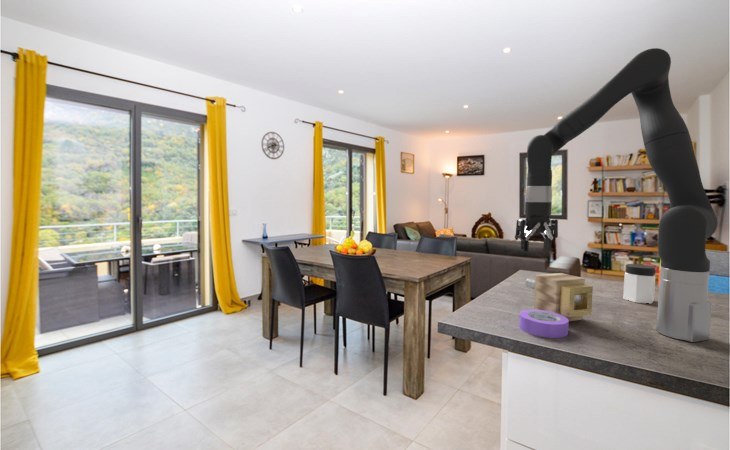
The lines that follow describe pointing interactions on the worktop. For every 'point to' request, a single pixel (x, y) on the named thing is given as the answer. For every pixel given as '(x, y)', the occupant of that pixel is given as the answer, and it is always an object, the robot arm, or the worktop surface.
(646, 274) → the jar
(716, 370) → the worktop surface
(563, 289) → the block
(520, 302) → the worktop surface
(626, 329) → the worktop surface
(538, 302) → the tan wooden block
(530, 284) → the shaft
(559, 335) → the masking tape
